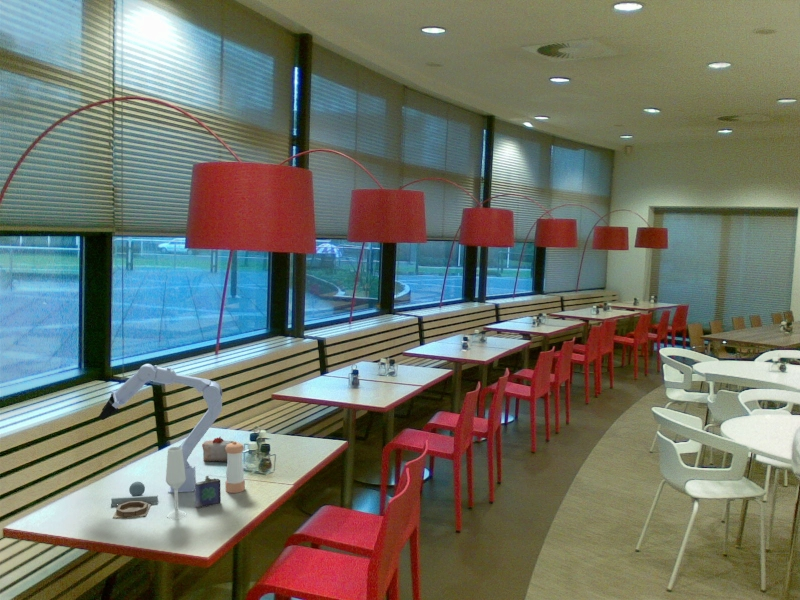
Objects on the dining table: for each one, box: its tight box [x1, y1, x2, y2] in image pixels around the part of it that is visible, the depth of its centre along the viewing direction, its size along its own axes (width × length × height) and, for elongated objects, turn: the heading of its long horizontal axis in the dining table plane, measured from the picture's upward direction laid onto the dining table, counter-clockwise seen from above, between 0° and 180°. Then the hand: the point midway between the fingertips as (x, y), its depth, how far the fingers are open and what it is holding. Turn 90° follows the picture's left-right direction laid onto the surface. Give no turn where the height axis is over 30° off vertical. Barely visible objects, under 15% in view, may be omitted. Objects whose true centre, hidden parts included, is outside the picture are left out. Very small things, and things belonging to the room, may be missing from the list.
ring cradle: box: [112, 501, 152, 519], centre depth 253 cm, size 11×11×2 cm
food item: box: [201, 436, 234, 463], centre depth 310 cm, size 14×8×10 cm, turn 86°
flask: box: [194, 475, 222, 509], centre depth 259 cm, size 9×3×11 cm, turn 121°
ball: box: [128, 481, 146, 497], centre depth 267 cm, size 6×6×6 cm
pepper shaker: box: [225, 440, 246, 494], centre depth 274 cm, size 7×7×19 cm
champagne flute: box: [165, 446, 187, 520], centre depth 249 cm, size 7×7×24 cm
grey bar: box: [110, 494, 159, 507], centre depth 260 cm, size 16×3×2 cm, turn 100°
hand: (102, 415), depth 267 cm, fingers open, 7 cm apart
